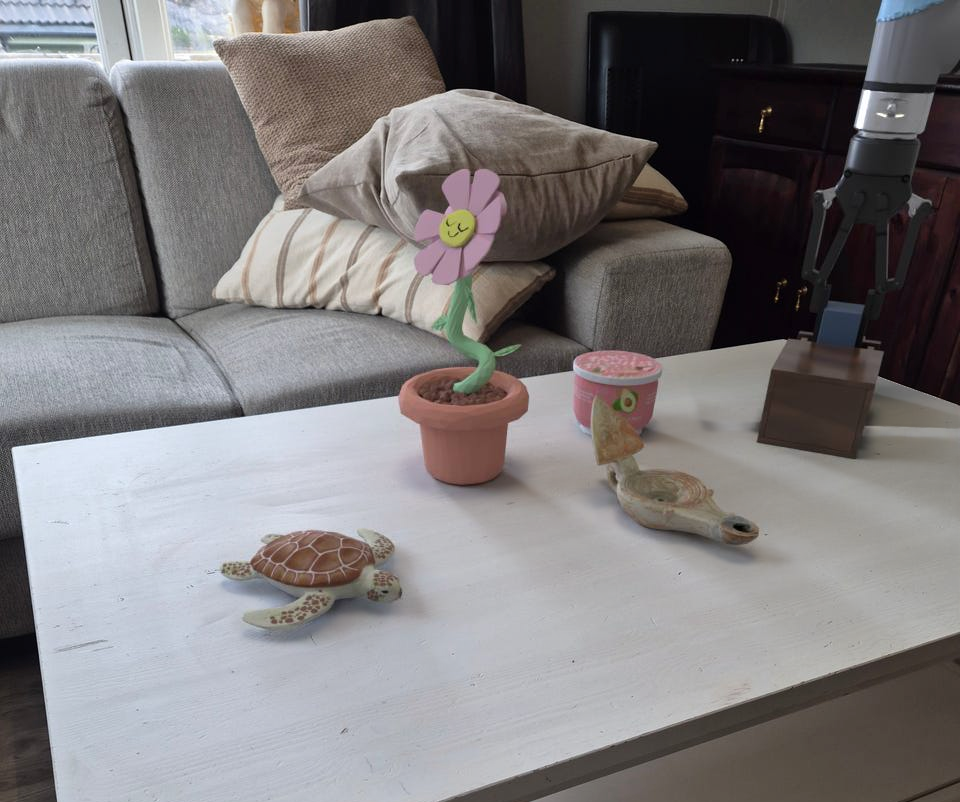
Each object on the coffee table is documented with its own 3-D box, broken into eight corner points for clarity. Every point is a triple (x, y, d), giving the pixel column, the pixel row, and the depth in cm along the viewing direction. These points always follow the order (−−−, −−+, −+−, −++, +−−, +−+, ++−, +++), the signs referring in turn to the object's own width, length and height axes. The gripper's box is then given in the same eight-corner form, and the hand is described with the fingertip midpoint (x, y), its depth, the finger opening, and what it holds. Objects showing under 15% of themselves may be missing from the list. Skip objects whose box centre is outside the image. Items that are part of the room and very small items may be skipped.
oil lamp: (614, 475, 102) (624, 386, 96) (777, 549, 88) (800, 450, 83) (558, 496, 97) (565, 404, 91) (721, 577, 84) (741, 475, 78)
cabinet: (774, 406, 121) (788, 338, 116) (865, 421, 117) (883, 351, 112) (756, 442, 110) (771, 368, 105) (855, 459, 107) (875, 383, 102)
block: (820, 336, 120) (828, 300, 117) (856, 340, 118) (865, 304, 116) (816, 345, 117) (824, 309, 114) (853, 350, 115) (862, 314, 112)
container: (554, 432, 112) (558, 367, 107) (589, 407, 119) (595, 345, 115) (635, 451, 107) (643, 384, 103) (666, 423, 115) (675, 359, 110)
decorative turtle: (341, 667, 71) (337, 612, 68) (175, 611, 77) (165, 559, 74) (452, 565, 84) (453, 516, 82) (303, 524, 90) (299, 477, 88)
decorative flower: (370, 462, 103) (355, 164, 86) (467, 435, 110) (471, 154, 93) (451, 511, 94) (451, 185, 77) (551, 477, 101) (572, 173, 84)
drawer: (794, 371, 130) (806, 319, 126) (870, 382, 127) (884, 329, 123) (774, 413, 116) (786, 356, 112) (858, 426, 113) (873, 368, 109)
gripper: (803, 132, 104) (762, 339, 117) (971, 143, 99) (908, 360, 112) (811, 126, 110) (771, 325, 123) (971, 137, 104) (911, 344, 117)
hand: (836, 341), depth 117 cm, fingers closed on block, 4 cm apart
